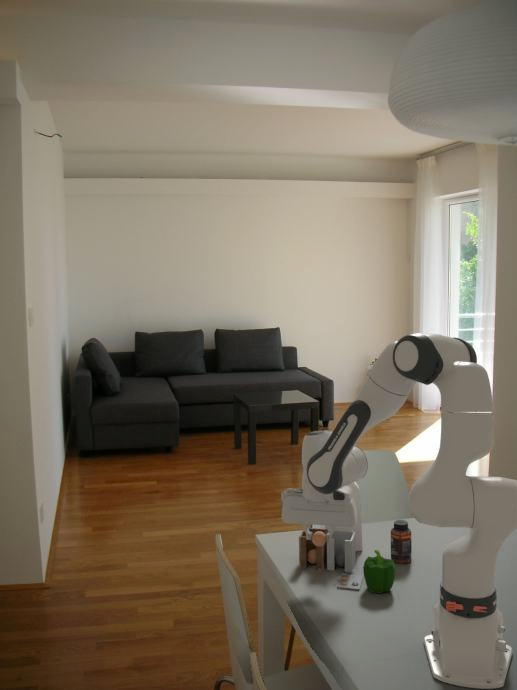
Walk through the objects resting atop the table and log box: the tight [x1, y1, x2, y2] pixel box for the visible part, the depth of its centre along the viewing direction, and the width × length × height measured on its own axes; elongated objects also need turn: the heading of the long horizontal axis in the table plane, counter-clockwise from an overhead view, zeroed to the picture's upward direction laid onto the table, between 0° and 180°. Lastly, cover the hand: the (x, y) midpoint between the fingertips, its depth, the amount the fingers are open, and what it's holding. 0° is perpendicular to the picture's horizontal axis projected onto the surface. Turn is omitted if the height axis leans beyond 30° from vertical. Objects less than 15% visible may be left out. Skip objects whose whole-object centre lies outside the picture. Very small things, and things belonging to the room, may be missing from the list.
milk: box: [319, 481, 364, 552], centre depth 215 cm, size 12×12×26 cm
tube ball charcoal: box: [334, 552, 345, 567], centre depth 200 cm, size 4×4×4 cm
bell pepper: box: [363, 549, 396, 594], centre depth 185 cm, size 8×8×10 cm
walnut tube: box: [298, 527, 328, 570], centre depth 202 cm, size 7×7×9 cm
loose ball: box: [312, 531, 326, 547], centre depth 191 cm, size 4×4×4 cm
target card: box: [336, 573, 364, 591], centre depth 190 cm, size 8×6×1 cm
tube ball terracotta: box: [307, 549, 317, 565], centre depth 202 cm, size 4×4×4 cm
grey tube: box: [326, 530, 357, 573], centre depth 200 cm, size 7×7×9 cm
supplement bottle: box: [390, 519, 413, 564], centre depth 203 cm, size 6×6×11 cm
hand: (319, 539), depth 191 cm, fingers closed on loose ball, 4 cm apart
